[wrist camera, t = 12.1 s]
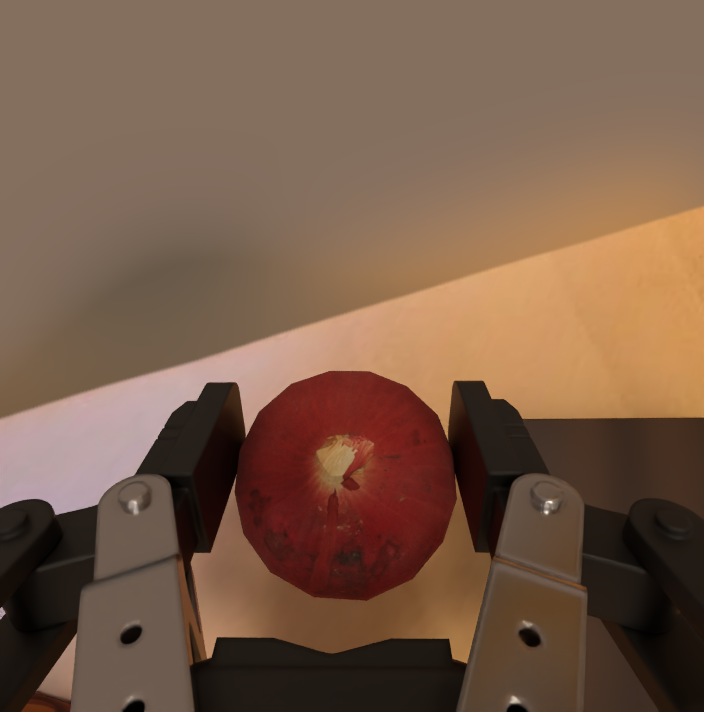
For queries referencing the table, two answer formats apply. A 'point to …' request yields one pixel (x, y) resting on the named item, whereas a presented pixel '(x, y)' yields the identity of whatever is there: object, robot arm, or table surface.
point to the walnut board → (622, 510)
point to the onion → (345, 485)
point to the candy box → (45, 704)
